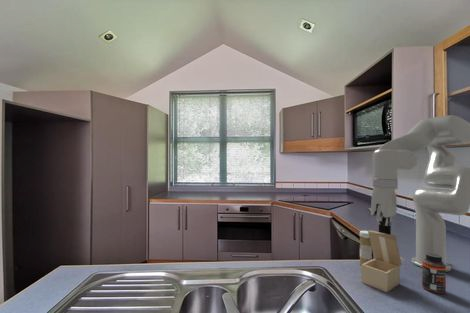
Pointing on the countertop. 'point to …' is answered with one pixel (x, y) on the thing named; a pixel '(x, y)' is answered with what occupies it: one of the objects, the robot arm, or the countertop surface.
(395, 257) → the lid
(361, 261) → the sprinkles bottle
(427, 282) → the supplement bottle
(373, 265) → the box
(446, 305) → the countertop surface
